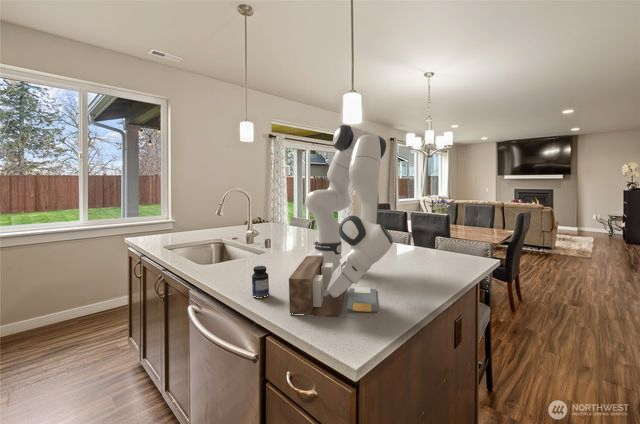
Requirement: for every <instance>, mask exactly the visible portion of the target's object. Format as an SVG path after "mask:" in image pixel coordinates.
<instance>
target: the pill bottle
mask: <svg viewBox="0 0 640 424" xmlns="http://www.w3.org/2000/svg"><path fill="white" fill-rule="evenodd" d="M253 272H254V273H253V274H252V275H251V285H252V287H251V288H252V289H251V290H252V297H253V296H256V297H264V296H267V295H268V296H269V295H270V285H269V282H270V281H269V273H267V266H266V265H257V266H254V267H253ZM268 296H267V297H268Z"/></svg>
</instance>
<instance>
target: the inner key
mask: <svg viewBox="0 0 640 424" xmlns="http://www.w3.org/2000/svg"><path fill="white" fill-rule="evenodd" d="M332 274H333V263H323V265H322V266H321V275H323V289H324V288H325V287H326V286H327V285H328V284H329V282H330V280H331V277H332Z"/></svg>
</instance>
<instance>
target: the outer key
mask: <svg viewBox="0 0 640 424" xmlns="http://www.w3.org/2000/svg"><path fill="white" fill-rule="evenodd" d="M322 292H323V275H315V276H314V277H313V307H321V305H322V303H323V294H322Z"/></svg>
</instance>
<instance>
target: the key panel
mask: <svg viewBox="0 0 640 424" xmlns="http://www.w3.org/2000/svg"><path fill="white" fill-rule="evenodd" d="M305 256H306V255H305ZM305 256H304V259H302V261H301V262H300V264H299V265H298V266H297V267H296V269H295V270H294V271H293V272H292V274H291V275H290V276H289V278H288V300H289V302H288V305H289V314H290V313H291V314H292V313H293V314H304V315H314V316H313V317H322V316H324V317H323V318H325V317H326V318H340V316H341V310H342V307H343V300H344V295H345V291H344V292H343V293H342V294H340V295H339V296H338V297H336V298H333V297H332V296H331V295H330V294H328V295H327V296H324V295H323V303H322V305H321V307H313V277H314V276H315V275H321V266H322V265H323V263H324V261H323V256H306V257H305Z"/></svg>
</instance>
